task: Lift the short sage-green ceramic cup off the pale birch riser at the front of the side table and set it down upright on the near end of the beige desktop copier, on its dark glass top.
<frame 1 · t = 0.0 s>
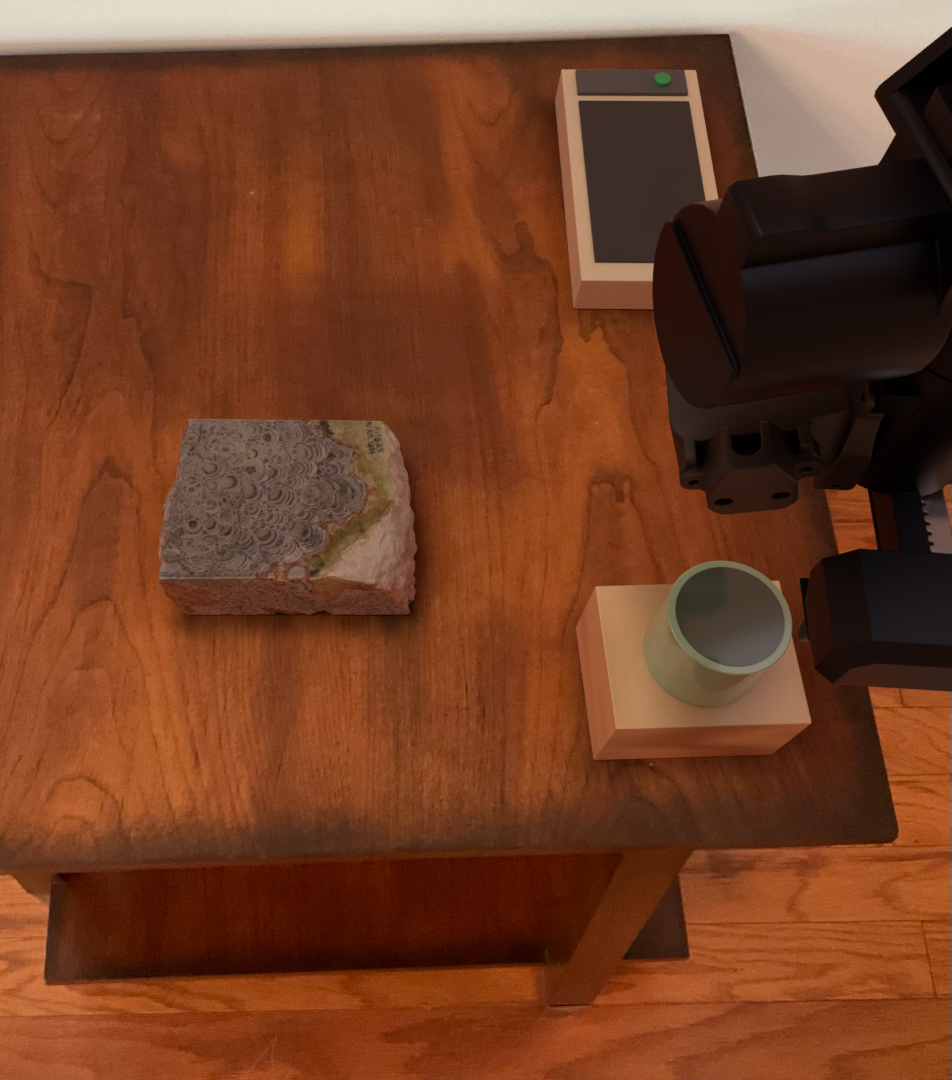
hand: (797, 540, 48), 17 cm above the table, tool pointing down, fingers open, 9 cm apart
riser: (670, 689, 62), on the table
geological specimen: (294, 537, 67), on the table
cup: (700, 652, 57), point 6 cm above the table, touching riser
copier: (632, 199, 79), on the table
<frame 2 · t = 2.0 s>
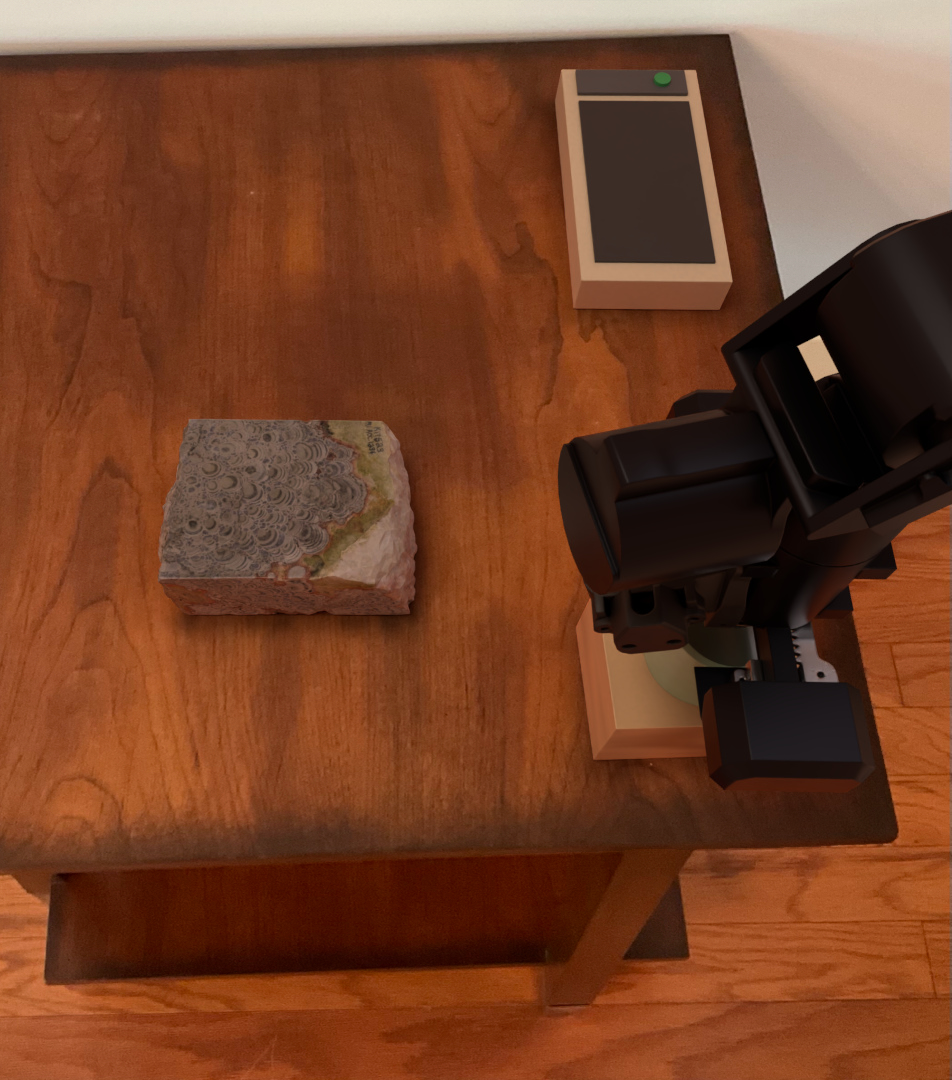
hand: (706, 645, 56), 7 cm above the table, tool pointing down, fingers closed on cup, 6 cm apart
cup: (700, 652, 57), point 6 cm above the table, touching gripper, riser
everything else where it was.
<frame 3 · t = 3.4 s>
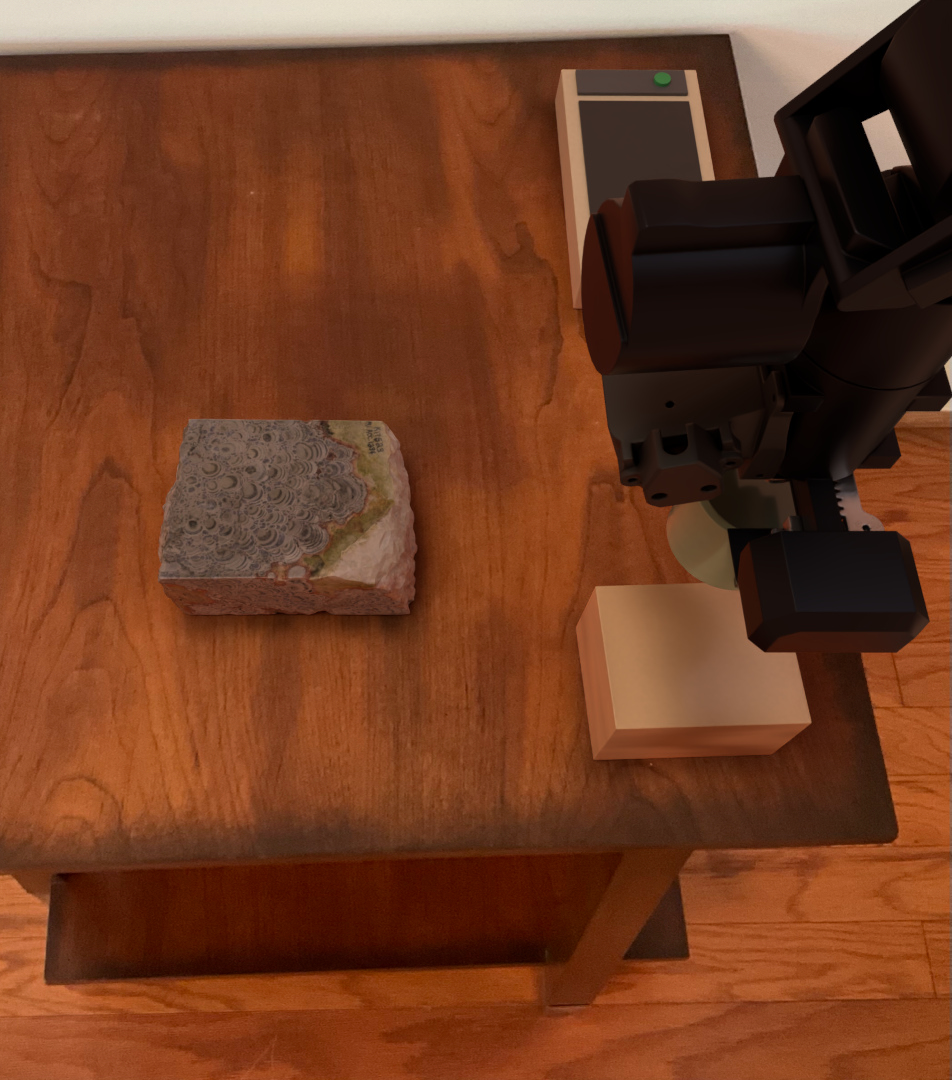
hand: (734, 525, 53), 13 cm above the table, tool pointing down, fingers closed on cup, 6 cm apart
cup: (727, 535, 53), point 12 cm above the table, touching gripper
everything else where it was.
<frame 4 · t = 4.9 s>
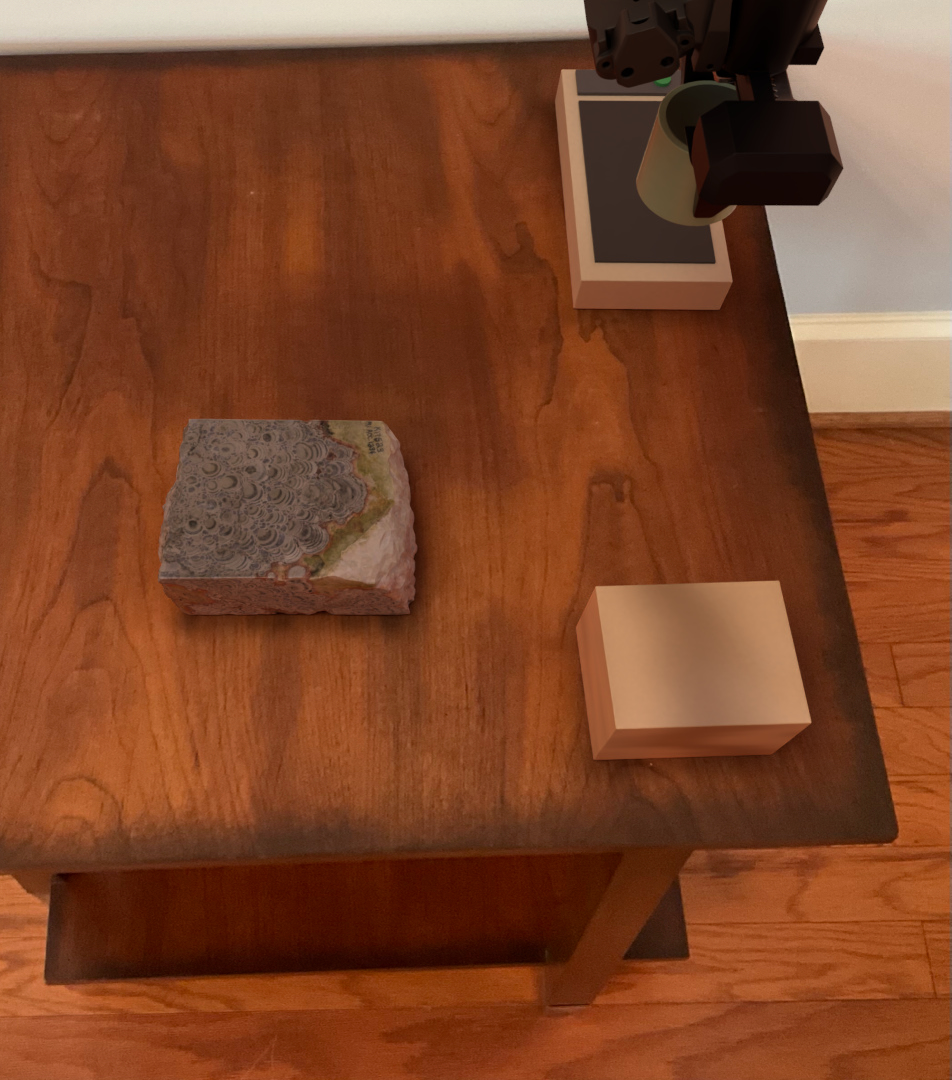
hand: (694, 173, 62), 13 cm above the table, tool pointing down, fingers closed on cup, 6 cm apart
cup: (687, 186, 63), point 12 cm above the table, touching gripper
everything else where it was.
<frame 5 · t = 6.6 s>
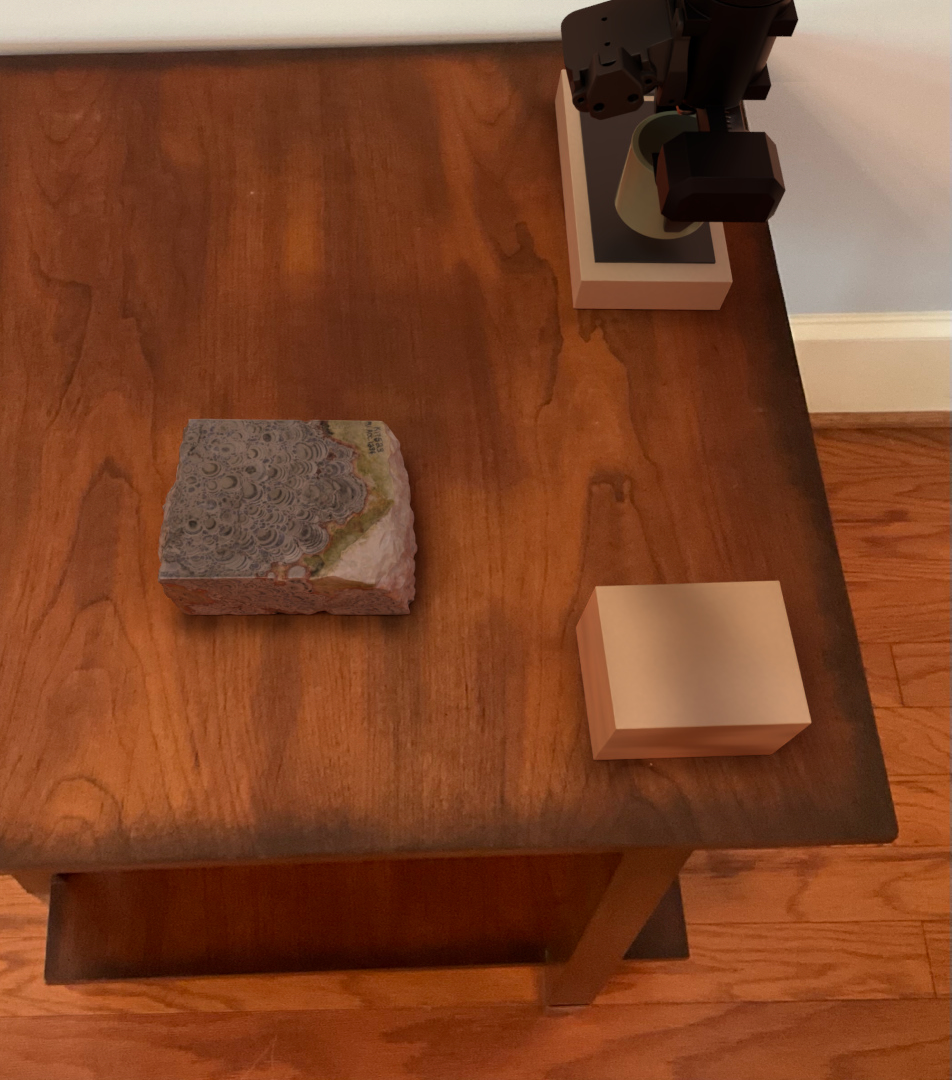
hand: (666, 192, 70), 7 cm above the table, tool pointing down, fingers closed on cup, 6 cm apart
cup: (660, 204, 71), point 6 cm above the table, touching gripper
everything else where it was.
when the fingers open (4 cm above the table, at t = 7.9 s): cup stays where it is, resting on copier.
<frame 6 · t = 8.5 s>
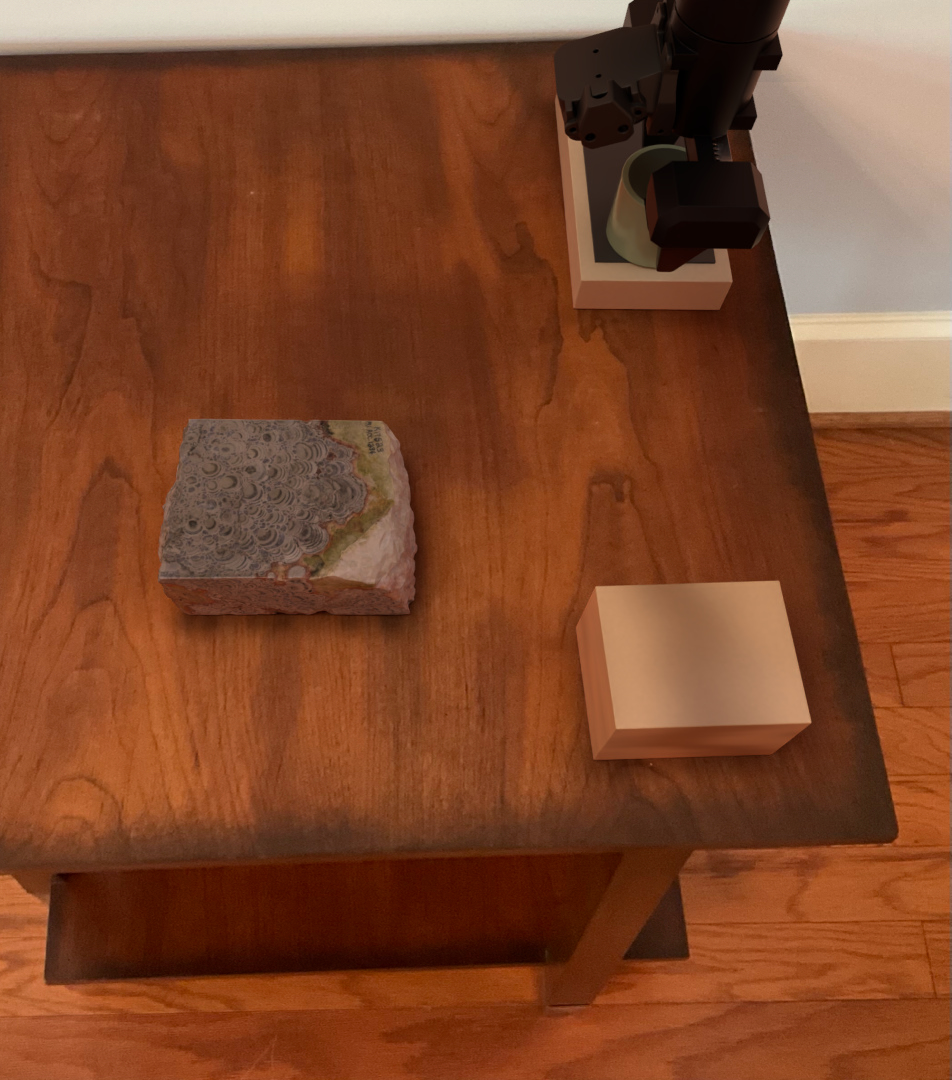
hand: (656, 215, 72), 5 cm above the table, tool pointing down, fingers open, 9 cm apart
cup: (650, 233, 73), point 3 cm above the table, touching copier
everything else where it was.
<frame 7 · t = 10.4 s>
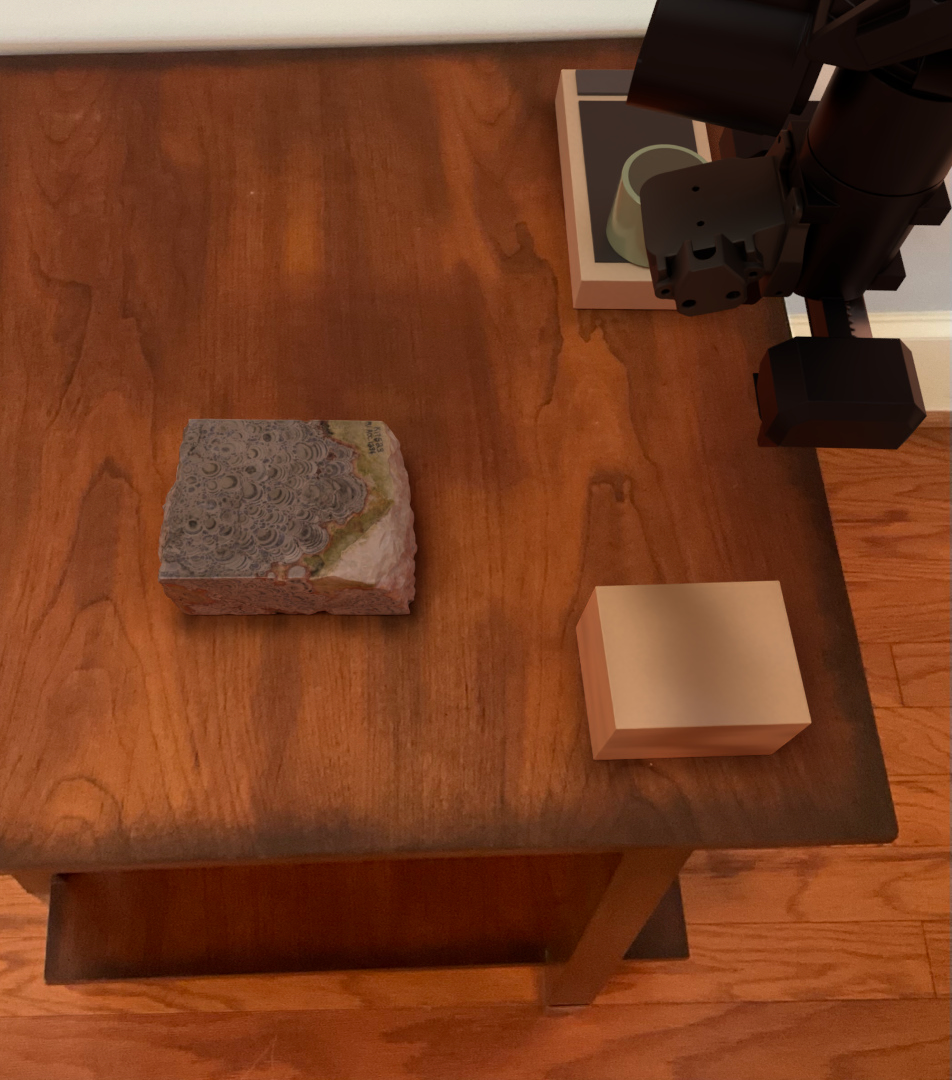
hand: (755, 370, 58), 12 cm above the table, tool pointing down, fingers open, 9 cm apart
nothing on the table moved.
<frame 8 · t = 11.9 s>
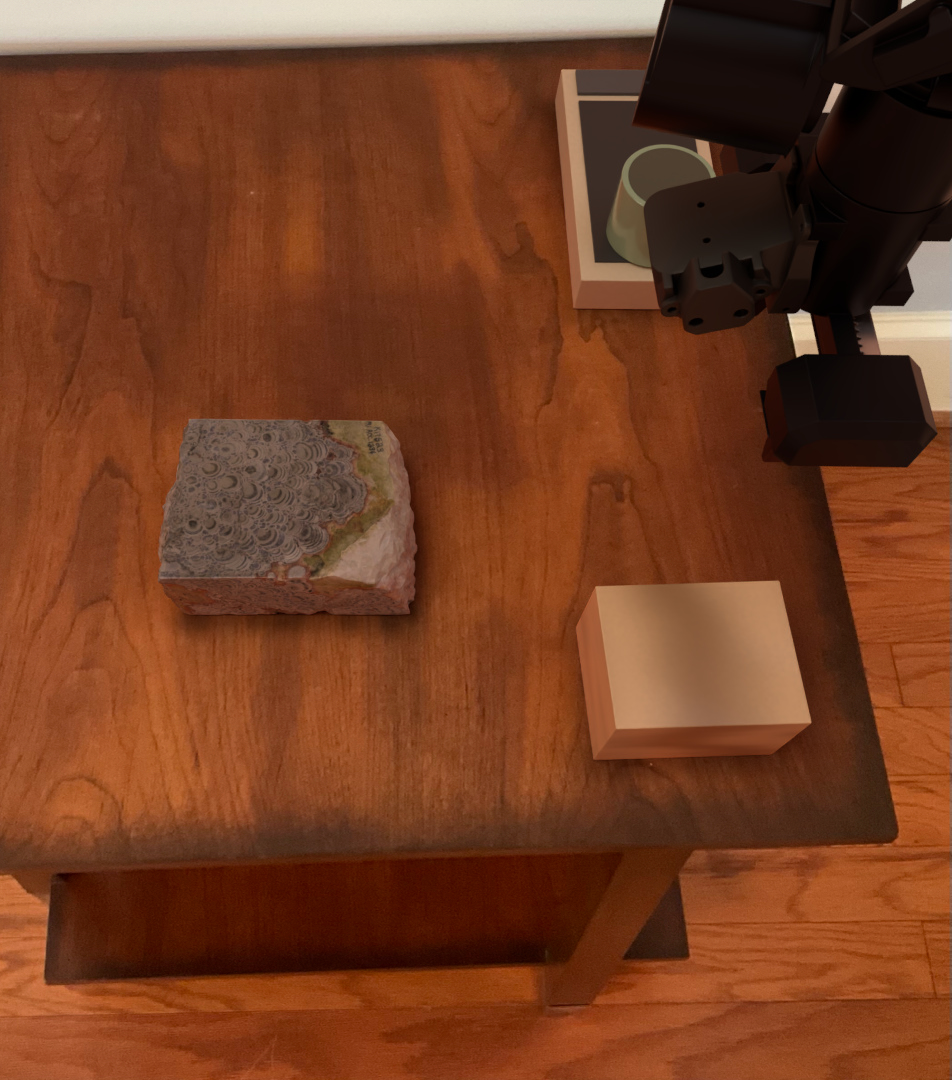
hand: (758, 384, 57), 12 cm above the table, tool pointing down, fingers open, 9 cm apart
nothing on the table moved.
at the end: cup 0.1 cm from the target spot on the copier, point 3.2 cm above the copier's base; cup tilted 0°; the gripper is holding nothing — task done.
